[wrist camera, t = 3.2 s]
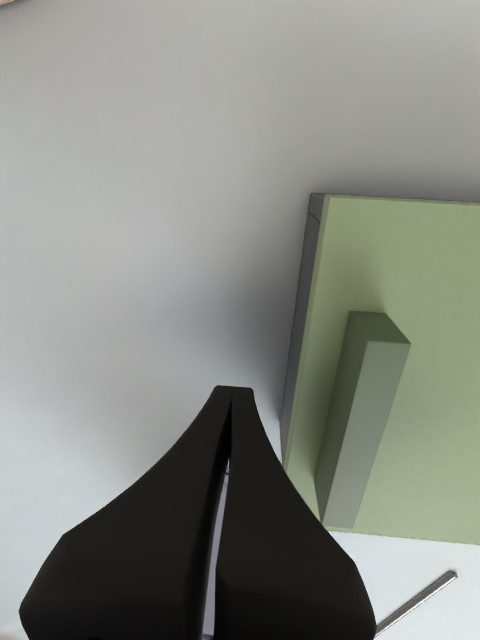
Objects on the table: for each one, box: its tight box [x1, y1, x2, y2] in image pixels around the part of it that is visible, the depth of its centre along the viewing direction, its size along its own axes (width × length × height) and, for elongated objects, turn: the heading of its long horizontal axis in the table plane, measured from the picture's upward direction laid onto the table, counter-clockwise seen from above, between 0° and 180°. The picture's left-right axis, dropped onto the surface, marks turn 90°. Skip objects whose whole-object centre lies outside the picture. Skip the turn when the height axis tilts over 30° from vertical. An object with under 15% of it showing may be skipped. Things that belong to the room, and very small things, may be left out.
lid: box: [284, 194, 480, 545], centre depth 11 cm, size 15×13×3 cm
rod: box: [374, 571, 458, 638], centre depth 31 cm, size 1×19×1 cm, turn 157°
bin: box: [280, 193, 480, 468], centre depth 15 cm, size 14×12×6 cm
